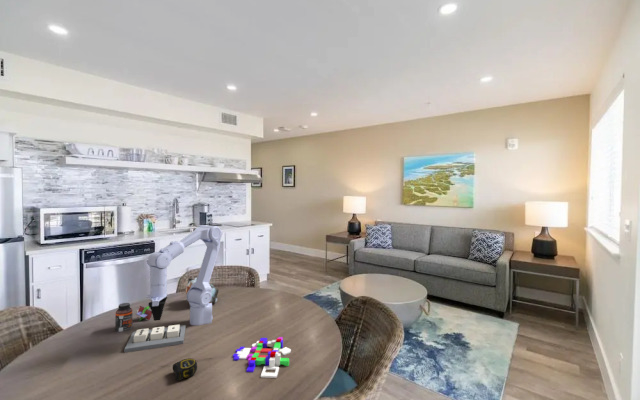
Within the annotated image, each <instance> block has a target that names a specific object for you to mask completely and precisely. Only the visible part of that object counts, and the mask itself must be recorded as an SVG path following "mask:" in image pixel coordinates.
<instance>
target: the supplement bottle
mask: <svg viewBox="0 0 640 400" xmlns="http://www.w3.org/2000/svg"><path fill="white" fill-rule="evenodd" d="M114 321H115V323H114V324H115V325H114V330H115V331H116V332H120V333H121V332H126V331H128V330H131V329H132V328H133V308H132V307H131V303H130V302H122V303H120V304H118V307H117V310H115V320H114Z"/></svg>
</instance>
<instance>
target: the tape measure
mask: <svg viewBox="0 0 640 400" xmlns="http://www.w3.org/2000/svg"><path fill="white" fill-rule="evenodd" d="M197 370H198V363H197V360H196V359H194V358H184V359H182V360H179V361H177V362H175V363H173V364H172V371H173V373H174V374H175V375H174V377H175V380H177V381H181V380H183V379H186V378H187V379H188V378H190V377H192V376H193V375H195V374H196V372H197Z"/></svg>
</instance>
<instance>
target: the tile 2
mask: <svg viewBox="0 0 640 400" xmlns="http://www.w3.org/2000/svg"><path fill="white" fill-rule="evenodd" d="M180 326H181V325H180V323H179V324H174V325H172V324H171V325H168V330H167V337H166V339H168V338H175V337H180Z"/></svg>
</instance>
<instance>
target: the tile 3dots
mask: <svg viewBox="0 0 640 400" xmlns="http://www.w3.org/2000/svg"><path fill="white" fill-rule="evenodd" d="M149 330H150V329H149V327H148V328H141V329H136V333H135V335H134V343H139V342H146V341H148V338H149Z"/></svg>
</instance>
